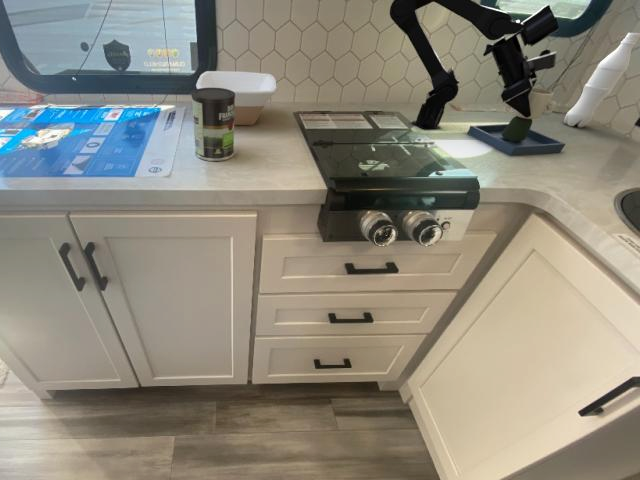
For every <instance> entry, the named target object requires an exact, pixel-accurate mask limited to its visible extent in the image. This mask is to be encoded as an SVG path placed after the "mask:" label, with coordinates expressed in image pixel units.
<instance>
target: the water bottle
mask: <svg viewBox="0 0 640 480" xmlns="http://www.w3.org/2000/svg"><path fill="white" fill-rule="evenodd" d="M639 38H640V33H639V32H627V34H626V36H625V37H624V38H623V39H622V41H620V44H619V45H618V47H617V48H615V49H614V50H613V51H612V52H611V53H609V54H608V55H607V56H606V57H605V58H603V59H602V60H601V61H600V62H599V63H598V64H597V66H596V68H595V70H594V71H593V72H592V74H591V75H590V77H589V79H588V81H587V82H586V83H585V84H584V86H583V89H582V93H581V95H580V97H579V98H578V100H577V102H576V103H575V104H574V105H573V107H571V109H570V110H568V111H567V112H566V115H565V116H564V119H563V123H564V124H566V125H568V126H569V127H574V126H575V125H577V128H584V127H585V126H586V125H588V124H589V123H590V122H591V121H592V120H593V118H594V116H595V113H596V110H597V108H598V107H599V105H600V104H601V103H602V102H603V100H604V99H605V98H607V96H608V95H610V93H611V92H612V91H614V90H613V89H614V87H615V86H616V85H617V84H618V82H619V80H620V79H621V77H622V76H623V74H624V73H625V72H626V71H627V69H628V68H629V65H630V61H631V54H632V50H633V48H634V46H635V45H637V42H638V39H639Z"/></svg>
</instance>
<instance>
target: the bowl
mask: <svg viewBox="0 0 640 480" xmlns="http://www.w3.org/2000/svg"><path fill="white" fill-rule="evenodd" d="M195 87H196V89H200V88H223V89H228V90H231V91H233V92H234V93H235V106H234V126H253V125H255V123H256V122H257V120H258V118H259V117H260V115H261V113H262V111H263V109H264V107H265V105H266V104H267V103H268V102H269V100H270V99H272V97H273V96H274V95H275V93H276V92H277V90H278V87H277V81H276V77H274V76H273V75H272V74H271V73H264V72H251V71H235V70H234V71H231V70H230V71H229V70H228V71H227V70H206V71H204V72H202V73H201V74H200V75H199V78H198V79H197V81H196V84H195Z"/></svg>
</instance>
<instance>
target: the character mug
mask: <svg viewBox="0 0 640 480" xmlns="http://www.w3.org/2000/svg"><path fill="white" fill-rule="evenodd" d="M554 94H555V93H554V92H553V91H551V90H548V89H545V88H541V87H540V88H538V87H533V88H532V90H531V92H530V94H529V102H530V109H531V116H530V117H528V118H526V117H524V116H523V115H522V114H520V113H519V112H518V111H516V110H515V109H514V108H512V107H511V106H509V105H508V104H507V107H508V108H512V114H513V115H514V116H513V118H511V120H510V121H509V122H508V123H507V124H508V125H507V127H506V128H505V130H504V131H503V133H502V136H503V137H504V138H506V139H508V140H512V141H523V140H525V139H526V136H527V134H528V132H529V130H530V129H531V127H532V125H533V120H536V119H539V118H540V117H541V116H542V115H546V116H550V115H551V114H552V113H553V111H554V109H555V108H556V107H557V104H558V102H556V101H554V100H552V98H553V96H554ZM547 106H550V108H549V109H548V110H546V108H547Z"/></svg>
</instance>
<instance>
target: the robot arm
mask: <svg viewBox="0 0 640 480" xmlns="http://www.w3.org/2000/svg"><path fill="white" fill-rule="evenodd" d="M431 3H436V4H438V5H439V6H441V7H443V8H445V9H446V10H448V11H450V12H451V13H454V14H455V15H457V16H459V17H461V18H463V20H466V21H468V22H470V23H471V24H472V25H473V26H474V28H476V29H477V30H478V31H479V33H481V35H483V36H484V37H485V38H486V39H487V40H489V41H495V42H494V43H492V44H489V43H487V44H486V46H485V50H484V52H483V54H482V57H486V56H488V55H489V54H491V55H492V57H493V60H494V62H495V65H496V67H497V69H498V71H497V74H498V76H499V77H500V76H501V80H502V82H503V90H502V92H501V94H500V98H501V100H502V102H503V103H505V105H507V106H508V105H509V106H511V107H512V109H515V110H516V111H518V112H519V113H520V114H522V115H523V116H524V117H526V118H528V117H530V116H531V109H530V102H529V94H530V92H531V90H532V88H534V87H535V85H536V83H537V81H538V79H539V78H538V77H539V75H538V72H539V71H542V70H543V71H544V70H550V69H554V68H555V67H556V63H557V55H558V54H557V53H558V51H553V52H552V51H551V49H550V48H547V49H542V51H541V52H540V54H539V55H538V56H534V57H531V58H529V56H528V54H527V55H526V54H525V53H524V51H523V49H522V46H521V44H520V41H519V38H518V36H519V37H520V39H521V42H522V44H523V46H524V47H526V46H530V48H532V47H533V46H535V45H536V44H539V43H540V42H541V41H543V40H545V39H546V38H548V37H550V36H552V35H553V34H555V33H556V32H558V31H559V30H560V26H559V22H558V18H557V17H556V16H555V14H554V12H553V11H552V9H551V5H549V4H546V5H544V6H543V7H541V8H540V9H539V10H538V11H536V12H535V13H533V14H532V15H531V16H529V17H528V18H526V19H525V20H523V21H521V20H520V19H517V20H515V19H512V16H511V15H510V14H509V13H508V12H506V11H505V10H500V9H498V8H493V7H489V6H485V5H482V4H479V3H478V2H476V1H474V0H393V1H392V2H391V5H390V8H389V17H390V19H391V20H392V21H393V22H394V24H395V25H396V26H397V27H398V28H399V29H400V30H401V31H402V32H403V33H404V34H405V35H406V36H407V38H408V39H409V41H410V43H411V45H412V46H413V48H414V50H415V52H416V54H417V56H418V57H419V59H420V61H421V63H422V64H423V66H424V68H425V70H426V71H427V73H428V75H429V78H430V80H431V84H432V87H433V88H432V90H430V91H428V92H427V93H426V96H425V97H426V98H425V102H423V103H421V106H420V109H419V112H418V115H417V117H416V120H413V121H412V122H411V124H414V126H417V127H418V128H420V129H422V130H434V129H435V130H437V129H441V126H440V122H441V121H442V118H443V116H444V113H445V109H446V104H448V103H450V102H452V101H453V100H454V99H456V97H457V96H458V92H459V83H460V77H459V76H457V74H456V73H455V70H454V67H453V66H451V67H450V68H449V69H447V67H446V66H444V65H443V63H442V61H441V59H440V57H439V56H438V54H437V52H436V50H435V48H434V46H433V43H431V41H430V39H429V36H428V35H427V33H426V31H425V30H424V28H423V26H422V25H421V22H420V17H419V14H418V11H417V10H419V9H421V8H423V7H425V6H427V5H429V4H431ZM506 35H507V36H508V35H512V36H510V37H509V38H507V39H506V37H505V36H506ZM511 107H510V108H511Z"/></svg>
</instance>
